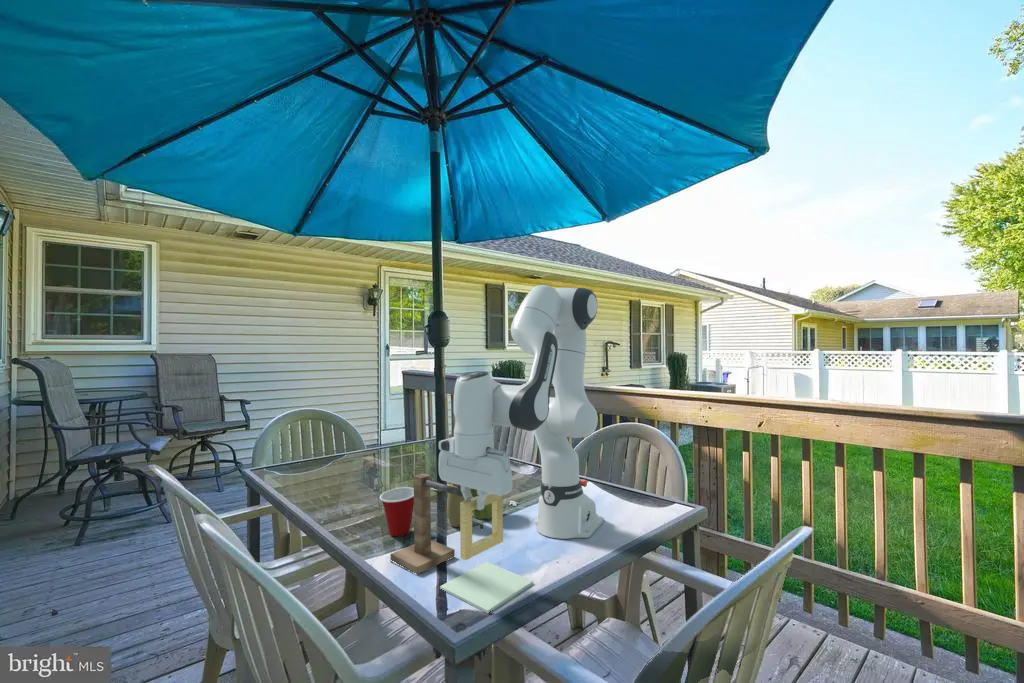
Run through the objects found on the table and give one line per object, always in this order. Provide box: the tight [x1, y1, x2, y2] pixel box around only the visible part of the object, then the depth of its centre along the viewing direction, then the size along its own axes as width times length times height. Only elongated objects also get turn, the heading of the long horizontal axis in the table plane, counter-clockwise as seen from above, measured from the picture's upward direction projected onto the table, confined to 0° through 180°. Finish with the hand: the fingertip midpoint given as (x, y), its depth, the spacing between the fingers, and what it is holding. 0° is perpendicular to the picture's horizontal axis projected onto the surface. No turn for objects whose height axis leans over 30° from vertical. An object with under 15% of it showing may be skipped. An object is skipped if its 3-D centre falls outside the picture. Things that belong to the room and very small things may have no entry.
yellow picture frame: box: [459, 493, 504, 561], centre depth 101 cm, size 12×2×12 cm, turn 139°
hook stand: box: [390, 473, 463, 575], centre depth 112 cm, size 12×20×22 cm, turn 49°
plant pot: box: [470, 488, 492, 520], centre depth 145 cm, size 12×12×11 cm
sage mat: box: [439, 561, 534, 614], centre depth 102 cm, size 15×15×1 cm
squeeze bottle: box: [446, 483, 473, 528], centre depth 138 cm, size 8×8×18 cm
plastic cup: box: [379, 486, 414, 537], centre depth 132 cm, size 11×11×12 cm
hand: (474, 507), depth 99 cm, fingers closed on yellow picture frame, 2 cm apart
